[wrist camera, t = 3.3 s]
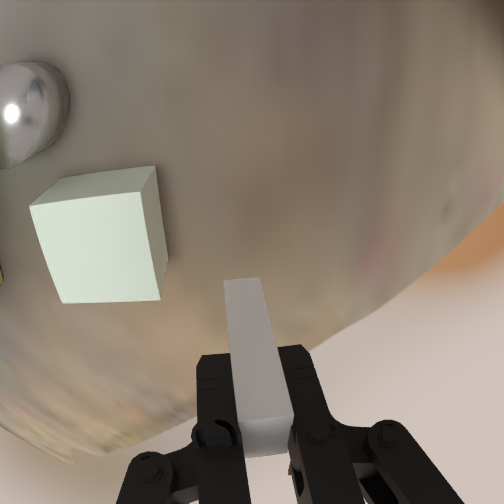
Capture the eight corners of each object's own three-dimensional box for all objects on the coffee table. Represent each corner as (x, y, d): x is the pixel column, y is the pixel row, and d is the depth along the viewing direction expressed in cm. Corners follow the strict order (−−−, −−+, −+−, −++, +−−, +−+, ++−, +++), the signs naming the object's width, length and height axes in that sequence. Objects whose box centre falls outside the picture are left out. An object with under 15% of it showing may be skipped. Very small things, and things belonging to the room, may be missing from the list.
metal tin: (-6, 77, 14) (-40, 83, 11) (67, 50, 15) (37, 49, 11) (5, 159, 17) (-25, 178, 14) (76, 142, 18) (50, 158, 15)
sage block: (62, 177, 19) (28, 206, 15) (155, 164, 20) (140, 191, 16) (83, 262, 23) (62, 303, 19) (168, 256, 23) (160, 300, 19)
